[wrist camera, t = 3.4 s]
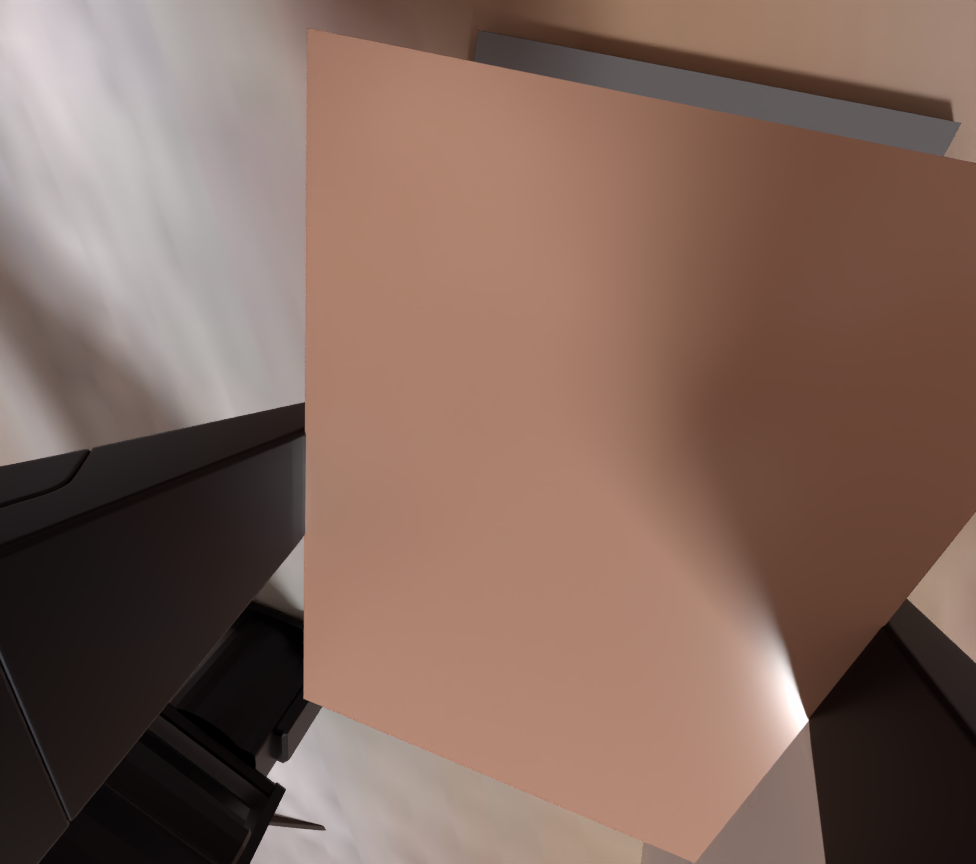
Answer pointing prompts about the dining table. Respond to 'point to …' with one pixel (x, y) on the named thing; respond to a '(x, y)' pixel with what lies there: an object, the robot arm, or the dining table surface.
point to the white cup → (768, 819)
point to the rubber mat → (719, 93)
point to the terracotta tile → (616, 423)
